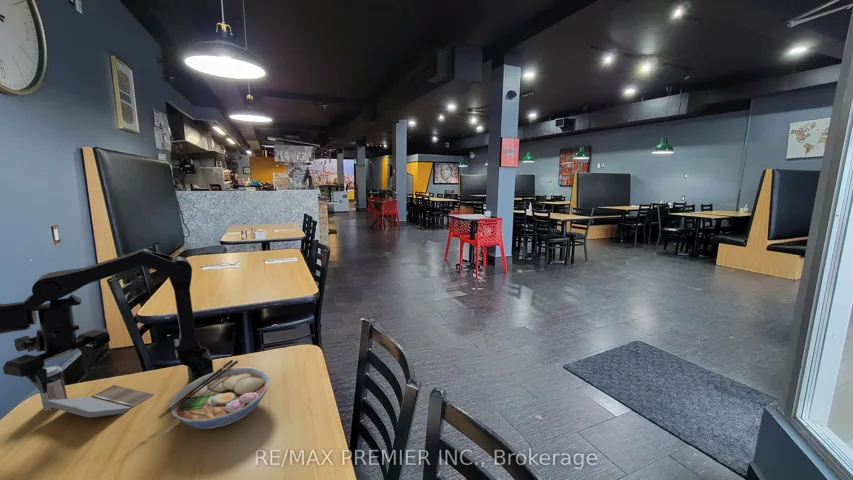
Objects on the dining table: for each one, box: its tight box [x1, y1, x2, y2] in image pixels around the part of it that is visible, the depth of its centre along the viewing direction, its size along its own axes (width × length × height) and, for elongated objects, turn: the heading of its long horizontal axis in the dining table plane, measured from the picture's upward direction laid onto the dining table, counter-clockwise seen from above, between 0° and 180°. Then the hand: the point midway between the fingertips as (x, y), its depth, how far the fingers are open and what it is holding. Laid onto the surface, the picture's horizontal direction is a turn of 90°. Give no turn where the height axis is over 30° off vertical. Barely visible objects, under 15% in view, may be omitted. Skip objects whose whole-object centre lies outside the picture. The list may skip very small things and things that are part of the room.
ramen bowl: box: [157, 359, 270, 429], centre depth 93 cm, size 25×23×8 cm
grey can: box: [39, 365, 69, 412], centre depth 94 cm, size 5×5×12 cm
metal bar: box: [91, 384, 155, 408], centre depth 100 cm, size 16×6×2 cm, turn 74°
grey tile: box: [45, 396, 132, 418], centre depth 92 cm, size 16×10×1 cm, turn 74°
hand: (66, 382), depth 89 cm, fingers open, 9 cm apart
